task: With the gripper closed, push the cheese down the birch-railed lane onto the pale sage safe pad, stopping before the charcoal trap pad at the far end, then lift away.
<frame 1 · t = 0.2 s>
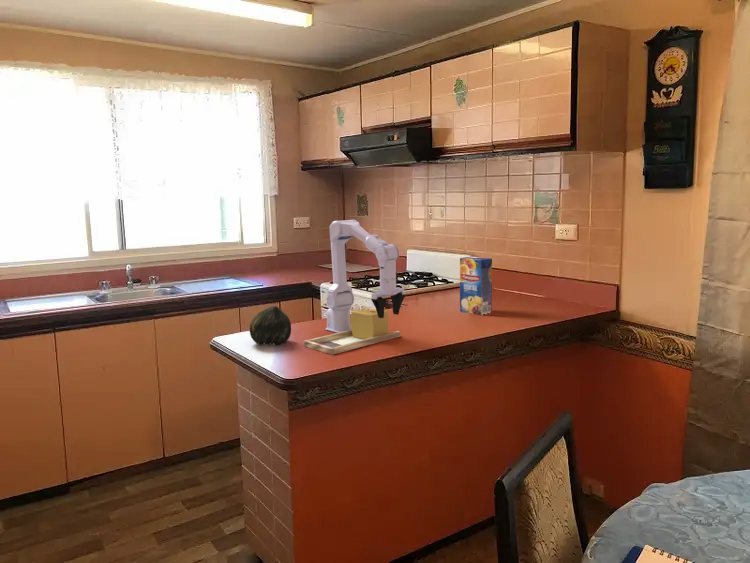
hand: (388, 316, 218), 10 cm above the counter, fingers open, 7 cm apart
lane rails: (354, 340, 225), on the counter
juice carton: (475, 312, 269), on the counter
squash: (271, 344, 224), on the counter
cheese: (370, 337, 230), on the counter, touching safe pad
trap pad: (329, 347, 217), on the counter
safe pad: (352, 341, 224), on the counter
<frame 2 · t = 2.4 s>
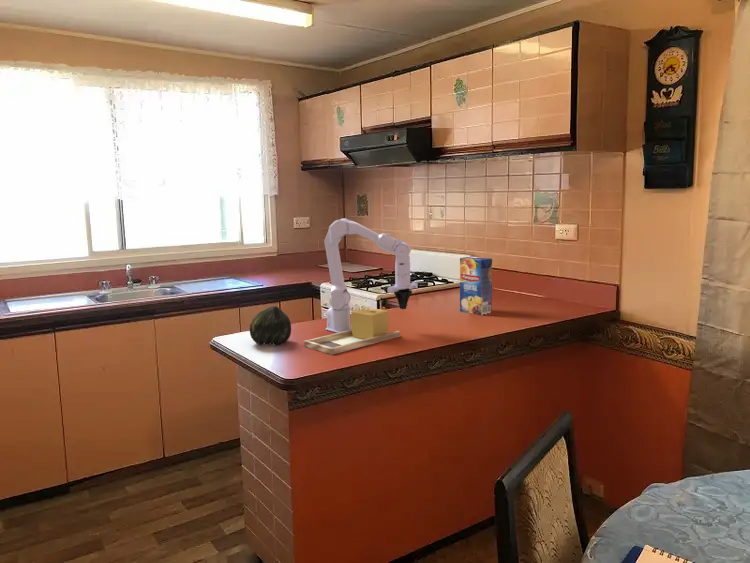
hand: (402, 308, 235), 9 cm above the counter, fingers closed
nothing on the counter moved.
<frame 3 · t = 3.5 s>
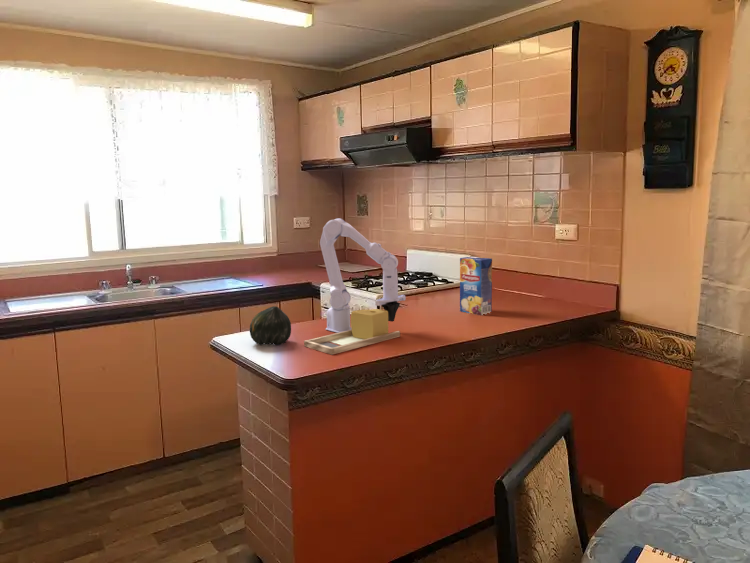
hand: (391, 321, 237), 4 cm above the counter, fingers closed
nothing on the counter moved.
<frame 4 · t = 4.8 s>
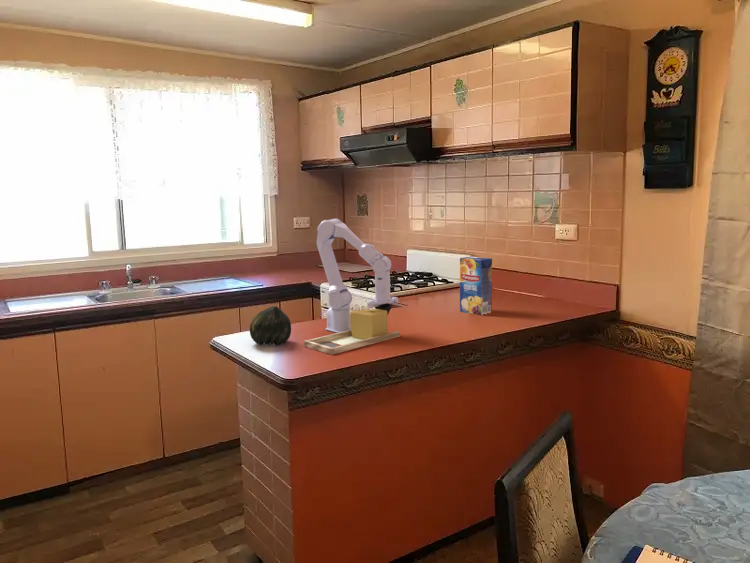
hand: (383, 323, 234), 4 cm above the counter, fingers closed
cheese: (370, 337, 230), on the counter, touching gripper
everything else where it was.
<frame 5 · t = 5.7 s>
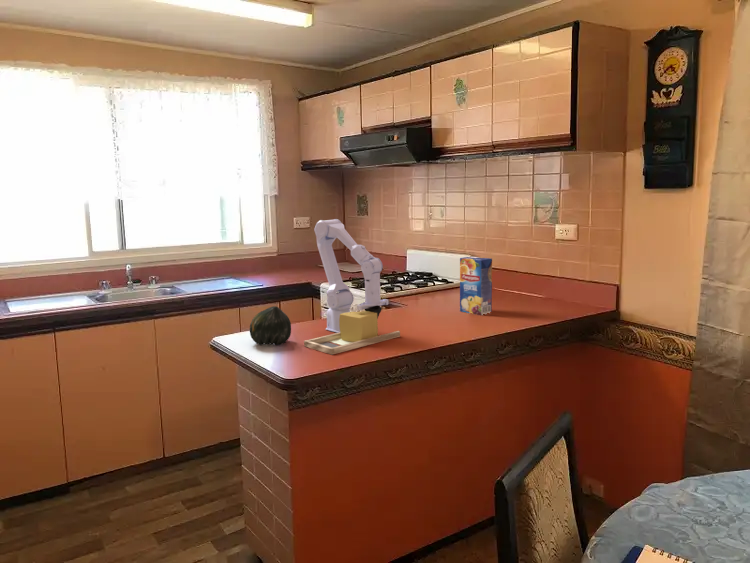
hand: (373, 325, 230), 4 cm above the counter, fingers closed
cheese: (359, 339, 226), on the counter, touching gripper
everything else where it was.
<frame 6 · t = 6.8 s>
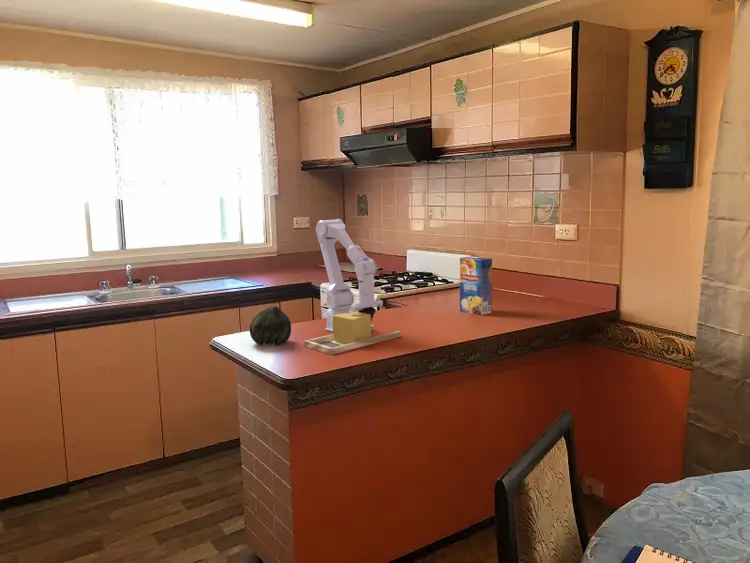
hand: (367, 327, 228), 4 cm above the counter, fingers closed
cheese: (352, 341, 224), resting on safe pad, touching gripper
everything else where it was.
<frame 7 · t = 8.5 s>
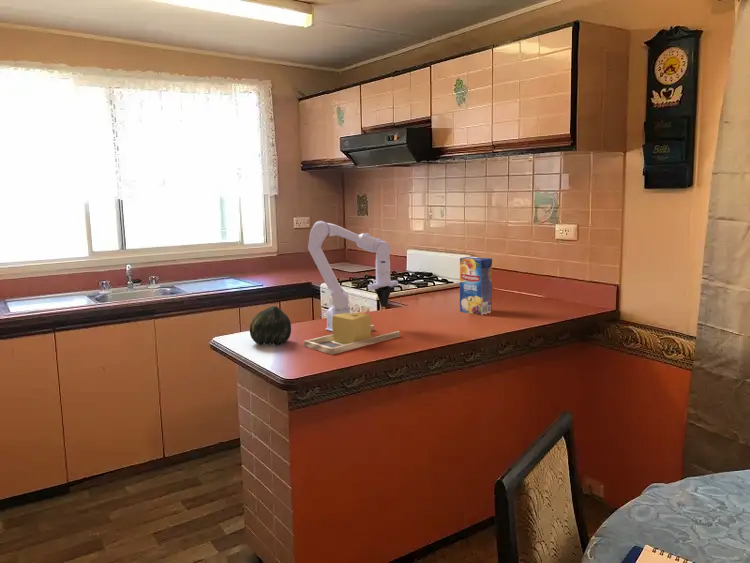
hand: (383, 305, 240), 9 cm above the counter, fingers closed
cheese: (352, 341, 224), resting on safe pad
everything else where it was.
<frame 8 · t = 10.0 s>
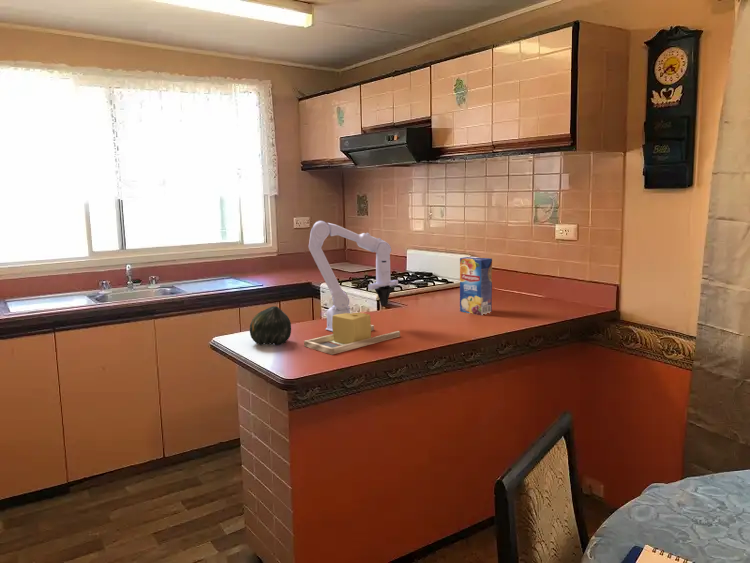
hand: (383, 305, 242), 9 cm above the counter, fingers closed
nothing on the counter moved.
at the end: cheese inside the target area (0.2 cm from its centre), resting on safe pad; cheese tilted 0°; the gripper is holding nothing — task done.
